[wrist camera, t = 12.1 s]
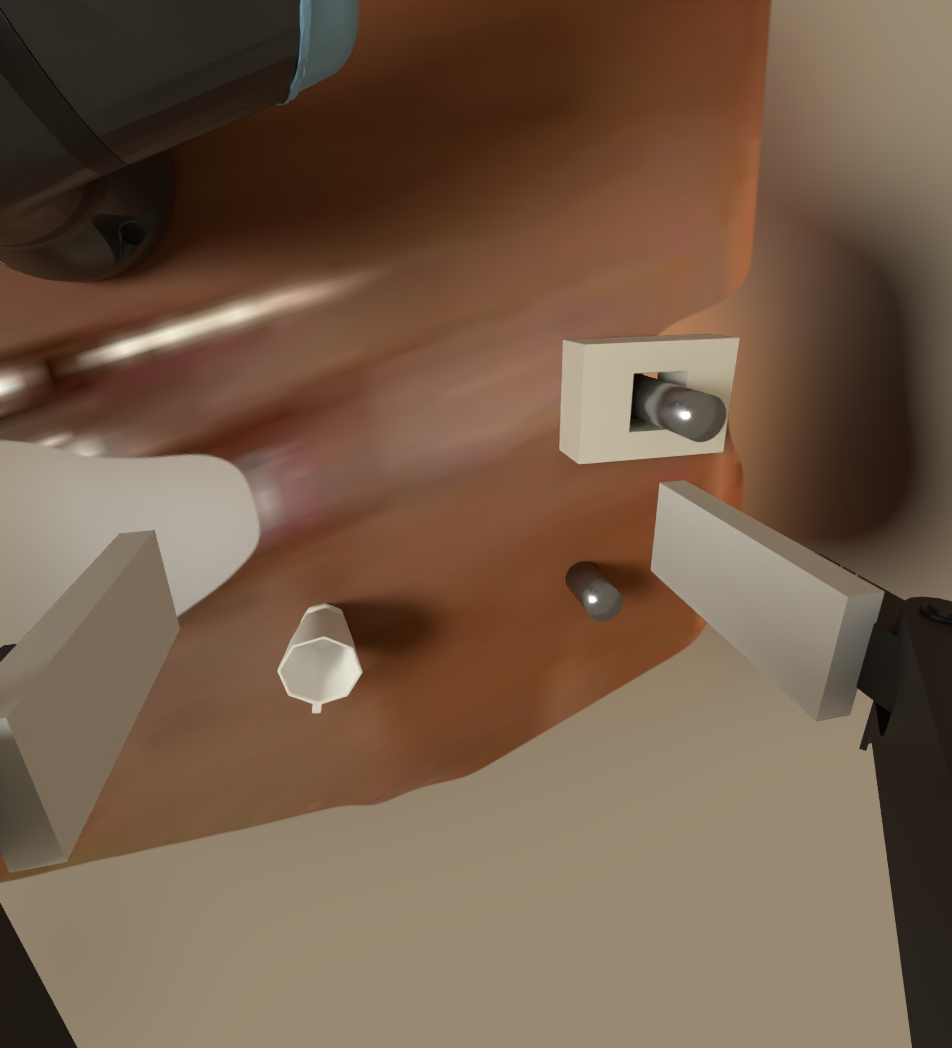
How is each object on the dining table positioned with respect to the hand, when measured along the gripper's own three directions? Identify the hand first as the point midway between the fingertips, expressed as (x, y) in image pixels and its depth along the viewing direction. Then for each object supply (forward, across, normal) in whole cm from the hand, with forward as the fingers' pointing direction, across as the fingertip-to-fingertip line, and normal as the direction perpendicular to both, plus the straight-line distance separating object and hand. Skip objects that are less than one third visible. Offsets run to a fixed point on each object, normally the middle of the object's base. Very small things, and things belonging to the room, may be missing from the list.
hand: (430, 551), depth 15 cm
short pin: (+37, +20, -22) cm, 47 cm away
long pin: (+37, +24, -3) cm, 44 cm away
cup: (+37, -7, -25) cm, 45 cm away
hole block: (+37, +24, -3) cm, 44 cm away
